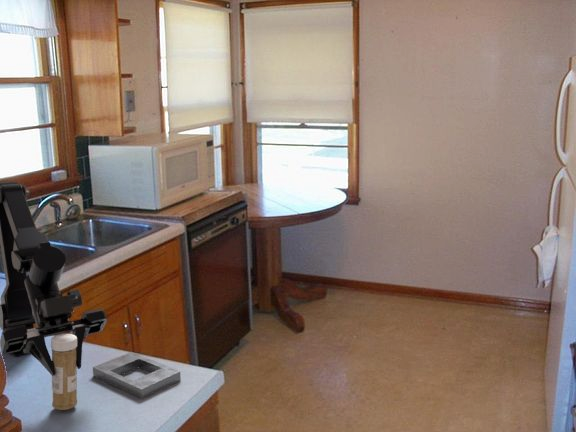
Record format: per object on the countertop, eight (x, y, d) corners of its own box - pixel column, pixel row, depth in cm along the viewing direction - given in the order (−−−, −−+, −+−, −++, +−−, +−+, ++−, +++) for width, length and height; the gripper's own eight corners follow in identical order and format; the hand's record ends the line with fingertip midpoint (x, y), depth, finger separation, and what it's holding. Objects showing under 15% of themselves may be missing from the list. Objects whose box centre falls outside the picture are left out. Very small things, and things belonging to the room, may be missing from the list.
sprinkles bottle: (80, 407, 113) (80, 339, 111) (54, 413, 111) (54, 343, 109) (73, 397, 117) (73, 331, 115) (49, 402, 115) (48, 335, 112)
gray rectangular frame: (93, 376, 127) (92, 367, 127) (131, 360, 135) (131, 351, 135) (141, 398, 118) (141, 389, 117) (180, 380, 126) (180, 371, 125)
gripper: (-3, 286, 107) (18, 367, 101) (101, 269, 118) (126, 340, 112) (-8, 315, 115) (11, 392, 108) (89, 296, 126) (112, 365, 119)
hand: (66, 371), depth 112 cm, fingers closed on sprinkles bottle, 4 cm apart
